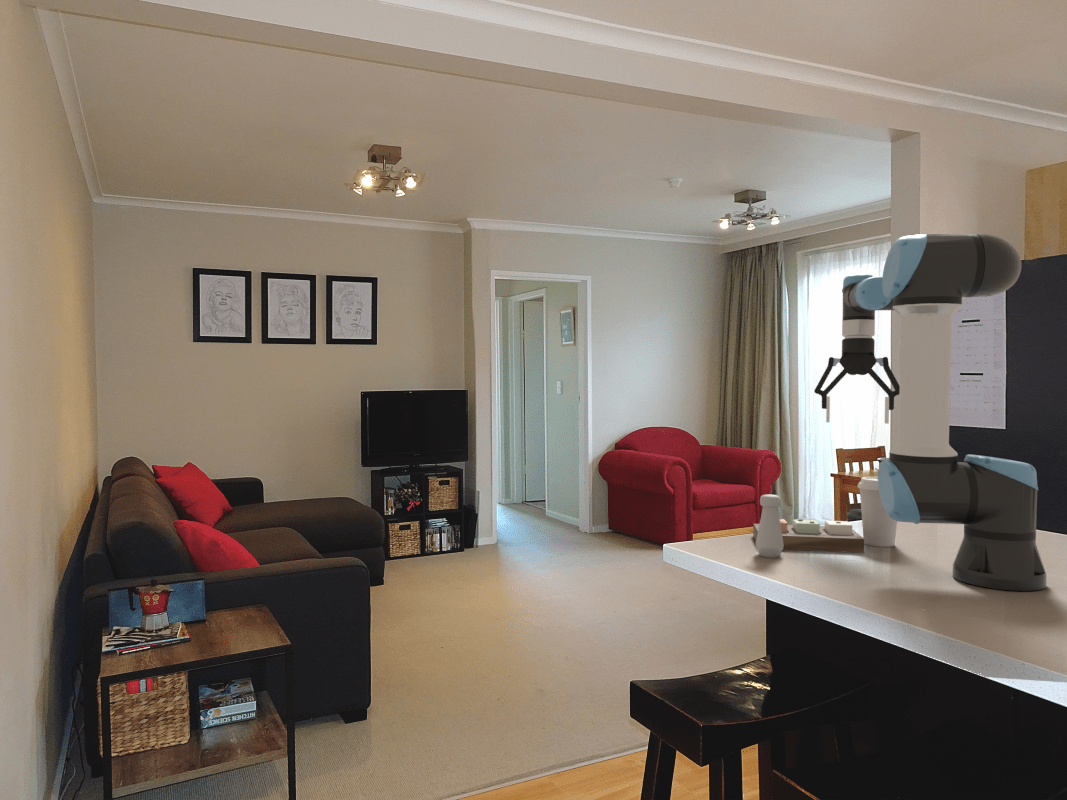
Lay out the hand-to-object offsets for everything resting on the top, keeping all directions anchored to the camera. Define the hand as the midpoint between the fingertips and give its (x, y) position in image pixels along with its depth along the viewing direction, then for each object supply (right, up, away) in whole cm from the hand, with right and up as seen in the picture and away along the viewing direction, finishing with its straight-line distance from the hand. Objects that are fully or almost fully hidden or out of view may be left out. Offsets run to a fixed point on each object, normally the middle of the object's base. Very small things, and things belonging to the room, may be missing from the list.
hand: (856, 422), depth 196 cm
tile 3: (-25, -25, -15) cm, 38 cm away
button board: (-18, -27, -16) cm, 37 cm away
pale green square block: (-18, -25, -16) cm, 35 cm away
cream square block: (-12, -25, -18) cm, 32 cm away
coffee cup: (-1, -28, -16) cm, 32 cm away
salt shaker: (-30, -28, -28) cm, 50 cm away
